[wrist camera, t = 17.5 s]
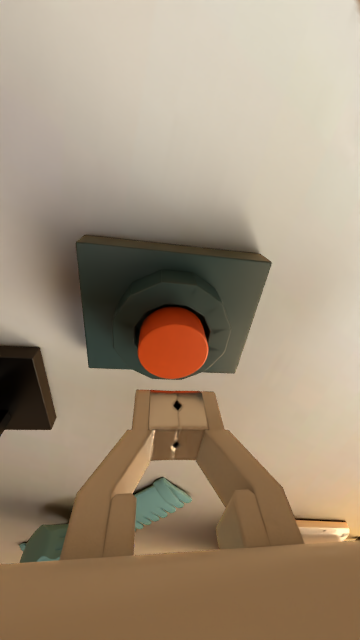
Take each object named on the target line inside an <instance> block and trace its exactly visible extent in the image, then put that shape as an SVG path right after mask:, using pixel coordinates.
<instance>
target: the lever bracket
mask: <svg viewBox="0 0 360 640" xmlns="http://www.w3.org/2000/svg"><path fill="white" fill-rule="evenodd" d="M55 420H56V414H55V410H54V406H53V402H52V397H51V393H50V389H49V385H48V380H47V376H46V372H45V368H44V363H43V359H42V355H41V351H40V348H36V347H15V346H0V436H1V434H2V433H3V431H4V430H51V429H52V427H53V424H54V422H55Z"/></svg>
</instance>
